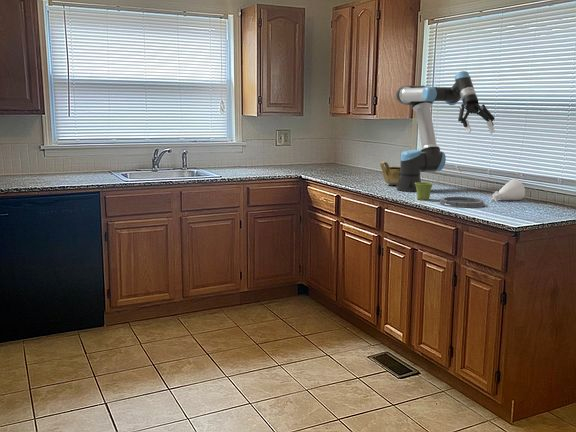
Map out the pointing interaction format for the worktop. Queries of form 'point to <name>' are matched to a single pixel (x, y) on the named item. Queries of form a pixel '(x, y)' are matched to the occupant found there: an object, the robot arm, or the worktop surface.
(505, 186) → the white teardrop lump
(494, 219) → the worktop surface
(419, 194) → the plant pot
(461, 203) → the saucer
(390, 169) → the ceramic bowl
